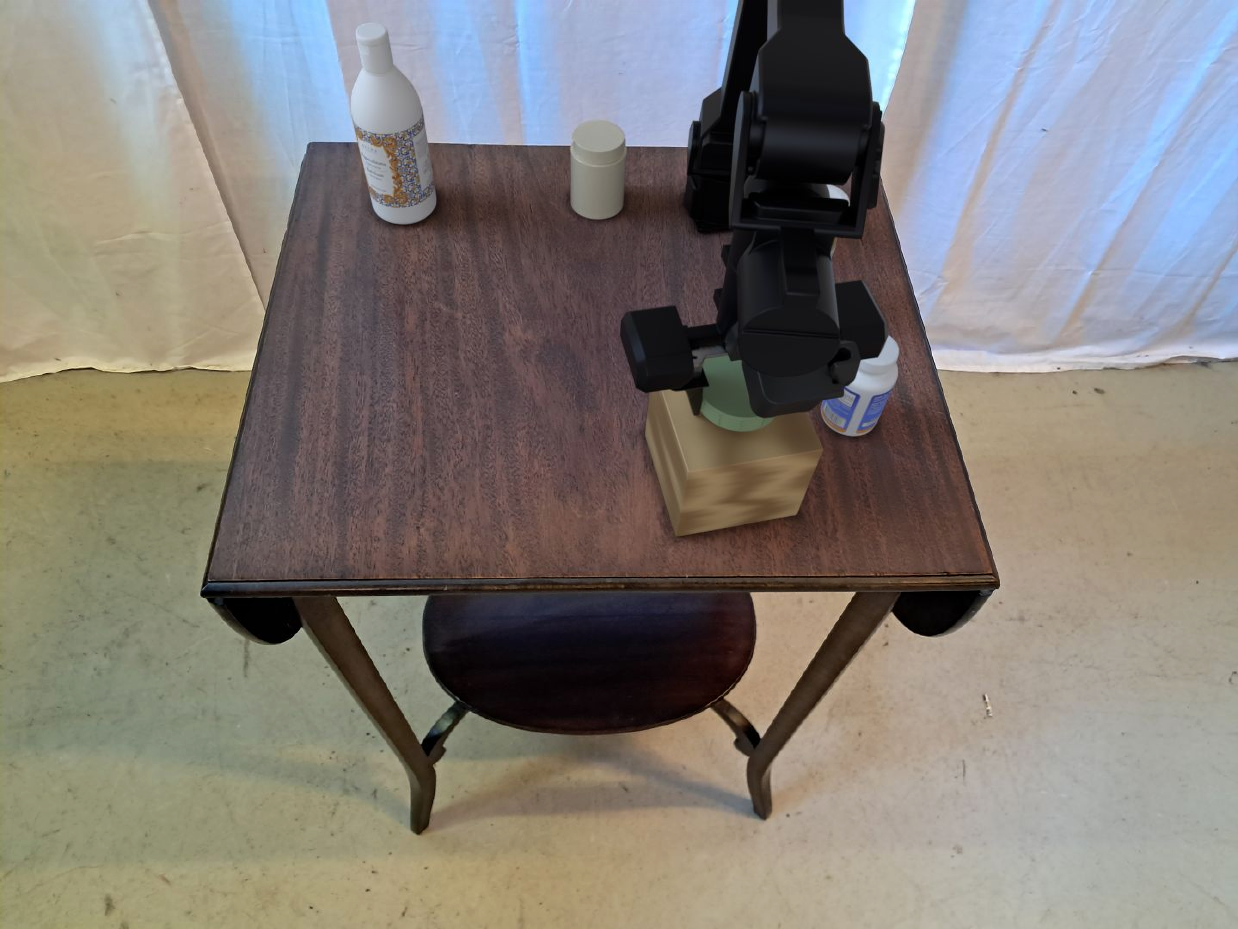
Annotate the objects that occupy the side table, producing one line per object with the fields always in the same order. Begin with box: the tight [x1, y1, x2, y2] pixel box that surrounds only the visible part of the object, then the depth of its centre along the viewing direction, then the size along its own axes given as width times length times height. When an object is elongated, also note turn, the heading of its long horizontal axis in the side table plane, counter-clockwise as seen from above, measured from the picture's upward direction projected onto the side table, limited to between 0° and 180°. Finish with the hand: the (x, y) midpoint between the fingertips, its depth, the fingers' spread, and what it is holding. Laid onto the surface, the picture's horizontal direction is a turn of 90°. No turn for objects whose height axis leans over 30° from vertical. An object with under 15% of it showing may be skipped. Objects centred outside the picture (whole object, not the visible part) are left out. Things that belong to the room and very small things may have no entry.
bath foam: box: [350, 22, 437, 225], centre depth 89 cm, size 7×7×20 cm
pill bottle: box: [820, 334, 900, 437], centre depth 79 cm, size 5×5×10 cm
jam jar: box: [569, 119, 628, 220], centre depth 95 cm, size 6×6×9 cm
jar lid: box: [700, 355, 776, 432], centre depth 69 cm, size 7×7×2 cm
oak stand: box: [644, 358, 824, 537], centre depth 75 cm, size 11×11×10 cm
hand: (735, 404), depth 71 cm, fingers closed on jar lid, 7 cm apart
